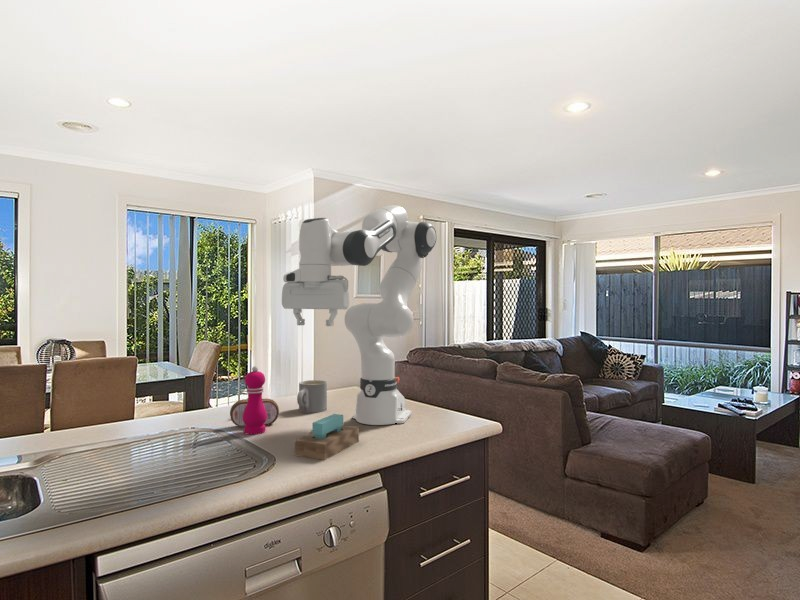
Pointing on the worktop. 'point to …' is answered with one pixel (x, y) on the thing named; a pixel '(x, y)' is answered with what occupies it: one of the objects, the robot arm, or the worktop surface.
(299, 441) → the slotted wooden block
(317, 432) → the clip
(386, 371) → the robot arm
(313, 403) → the coffee mug
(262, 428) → the pepper mill
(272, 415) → the tin
